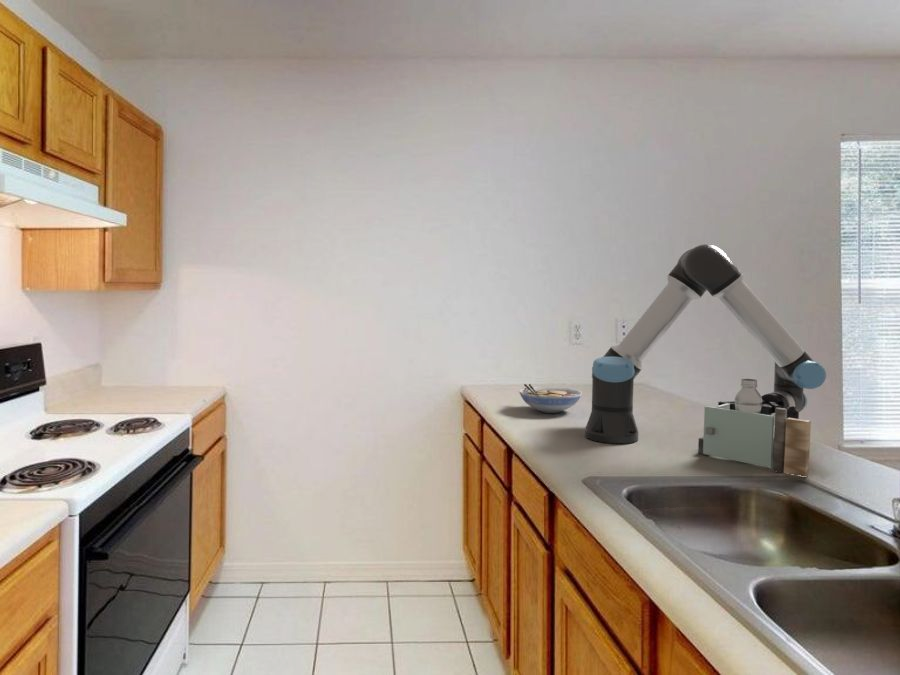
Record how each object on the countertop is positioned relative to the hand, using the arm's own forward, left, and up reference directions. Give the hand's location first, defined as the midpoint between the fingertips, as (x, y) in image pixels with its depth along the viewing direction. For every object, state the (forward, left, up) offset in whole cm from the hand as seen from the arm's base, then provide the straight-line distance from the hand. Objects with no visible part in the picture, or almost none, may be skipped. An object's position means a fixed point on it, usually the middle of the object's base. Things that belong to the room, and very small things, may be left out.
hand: (744, 415), depth 148 cm
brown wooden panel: (-1, -6, -11) cm, 13 cm away
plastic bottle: (+2, +2, -11) cm, 11 cm away
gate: (-4, -6, -10) cm, 13 cm away
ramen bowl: (-44, +57, -11) cm, 73 cm away
